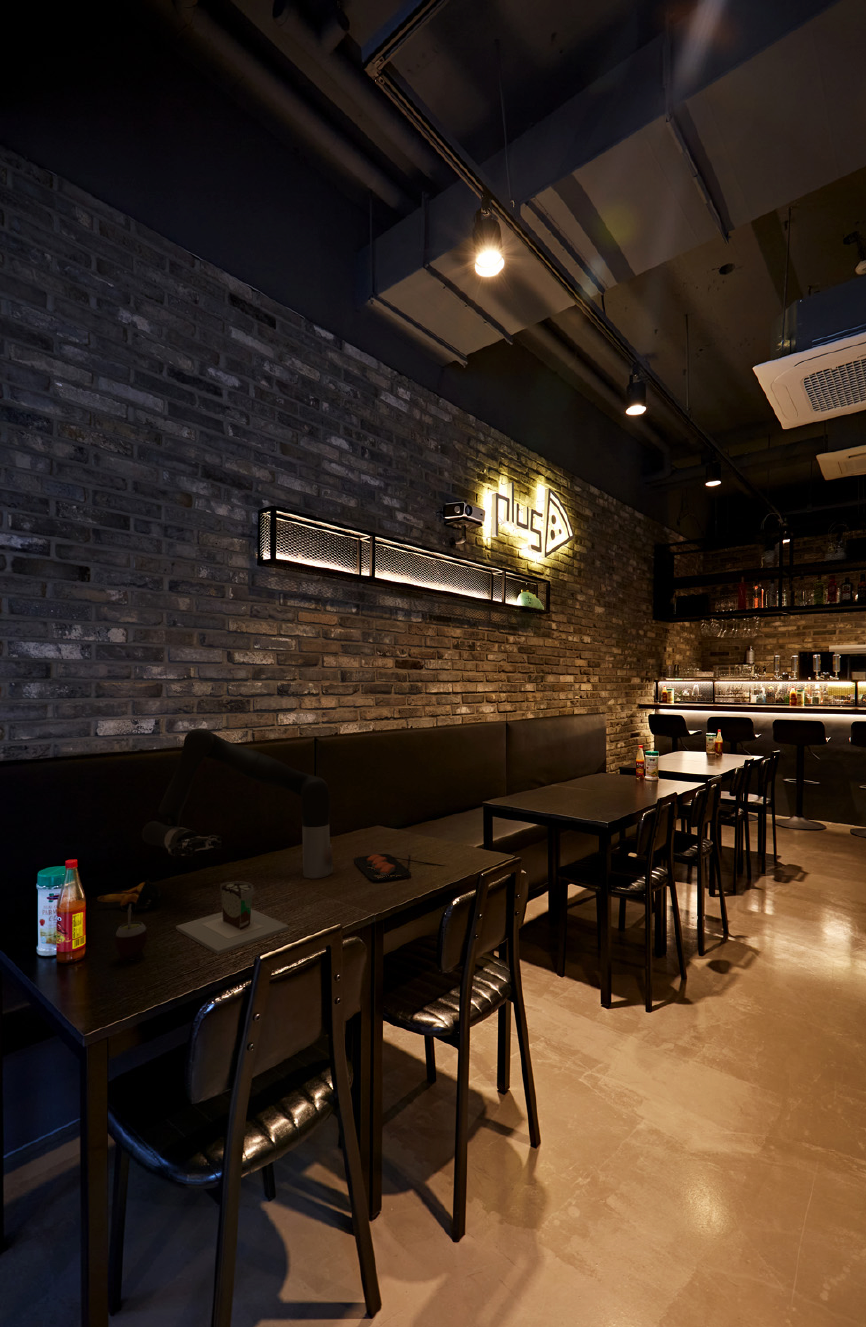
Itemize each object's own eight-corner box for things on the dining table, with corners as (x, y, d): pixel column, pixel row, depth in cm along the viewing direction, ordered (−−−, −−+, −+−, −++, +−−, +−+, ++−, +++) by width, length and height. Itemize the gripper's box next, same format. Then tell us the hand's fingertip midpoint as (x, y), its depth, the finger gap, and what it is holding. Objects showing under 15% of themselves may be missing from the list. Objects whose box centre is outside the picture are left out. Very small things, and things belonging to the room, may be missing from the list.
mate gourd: (132, 951, 152) (132, 890, 153) (156, 955, 149) (155, 893, 150) (106, 963, 145) (106, 900, 146) (130, 968, 142) (130, 904, 143)
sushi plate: (351, 863, 225) (350, 852, 225) (427, 852, 236) (426, 842, 236) (371, 886, 198) (371, 874, 198) (456, 873, 209) (456, 862, 209)
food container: (263, 924, 164) (263, 887, 164) (242, 931, 159) (242, 893, 160) (240, 913, 172) (240, 877, 173) (220, 920, 168) (219, 883, 168)
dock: (243, 908, 179) (243, 904, 180) (288, 929, 163) (288, 925, 163) (176, 929, 165) (176, 925, 165) (218, 955, 148) (218, 950, 148)
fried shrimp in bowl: (158, 898, 177) (94, 883, 174) (151, 927, 180) (88, 913, 177) (169, 877, 186) (109, 862, 183) (162, 905, 189) (102, 891, 186)
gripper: (157, 833, 181) (181, 841, 170) (203, 823, 192) (228, 830, 180) (158, 859, 181) (182, 868, 170) (204, 847, 191) (230, 856, 180)
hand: (206, 849), depth 175 cm, fingers open, 8 cm apart
